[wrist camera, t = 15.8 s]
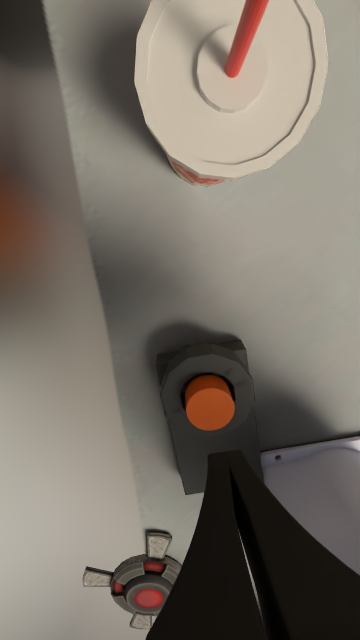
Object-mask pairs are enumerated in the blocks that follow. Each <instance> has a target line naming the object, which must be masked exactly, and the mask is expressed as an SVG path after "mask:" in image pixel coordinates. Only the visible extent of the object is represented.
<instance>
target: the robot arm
mask: <svg viewBox="0 0 360 640" xmlns="http://www.w3.org/2000/svg"><path fill="white" fill-rule="evenodd" d="M278 455H280V456H279V457H276V456H278ZM207 457H208V472H207V481H206V487H205V492H204V498H203V502H202V506H201V510H200V514H199V518H198V522H197V525H196V529H195V532H194V535H193V538H192V541H191V544H190V547H189V549H188V552H187V554H186V557H185V560H184V562H183V565H182V567H181V569H180V572H179V574H178V576H177V578H176V581H175V583H174V585H173V587H172V589H171V591H170V593H169V595H168V597H167V600H166V601H165V603H164V605H163V607H162V609H161V611H160V613H159V614H158V616H157V618H156V620H155V622H154V623H153V626H152V627H151V629H150V631H149V632H148V634H147V637H146V640H267V639H268V640H360V436H357V437H351V438H345V439H339V440H333V441H327V442H320V443H314V444H308V445H302V446H296V447H290V448H284V449H278V450H272V451H266V452H262V453H260V457H261V465H262V472H263V479H264V482H263V481H262V480H261V478H260V477H259V476H258V474H257V473H256V471H255V470H254V469H253V467H252V466H251V464H250V462H249V461H248V459H247V458H246V456H245V454H244V452H243V451H242V450H240V449H239V450H232V451H225V452H218V453H211V454H209V455H208V456H207ZM238 529H239V530H238ZM239 533H240V534H239ZM240 536H241V539H240ZM241 540H242V543H243V546H244V550H245V553H246V556H247V560H248V563H249V566H250V570H251V573H252V576H253V580H254V583H255V587H256V591H257V594H258V598H259V603H260V607H261V612H262V616H263V621H264V625H265V630H266V634H265V630H264V627H263V623H262V619H261V616H260V612H259V608H258V605H257V601H256V597H255V594H254V590H253V586H252V582H251V578H250V574H249V571H248V567H247V563H246V559H245V555H244V551H243V547H242V543H241ZM266 635H267V637H266Z"/></svg>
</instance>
